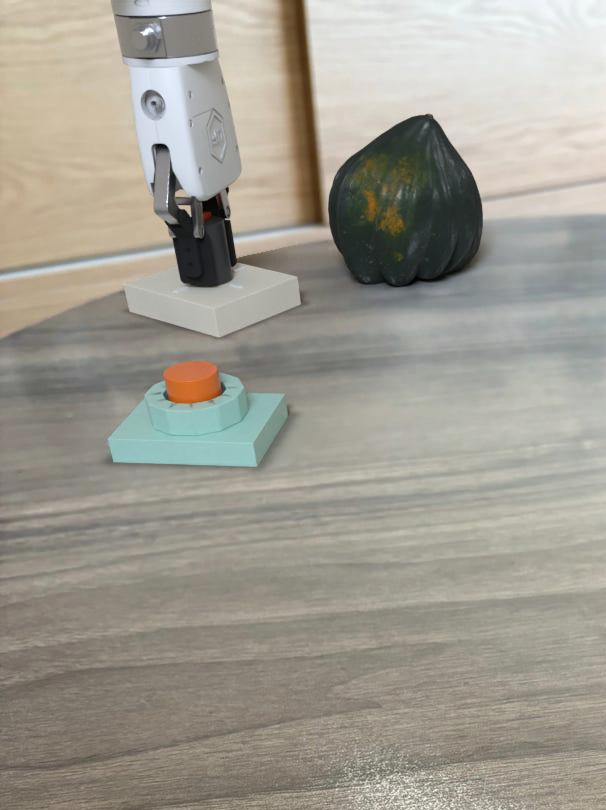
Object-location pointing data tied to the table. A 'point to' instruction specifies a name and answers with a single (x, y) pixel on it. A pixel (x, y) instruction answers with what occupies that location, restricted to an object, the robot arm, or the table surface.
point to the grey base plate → (213, 299)
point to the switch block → (200, 428)
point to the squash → (406, 206)
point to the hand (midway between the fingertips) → (209, 272)
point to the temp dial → (218, 248)
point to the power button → (192, 382)
